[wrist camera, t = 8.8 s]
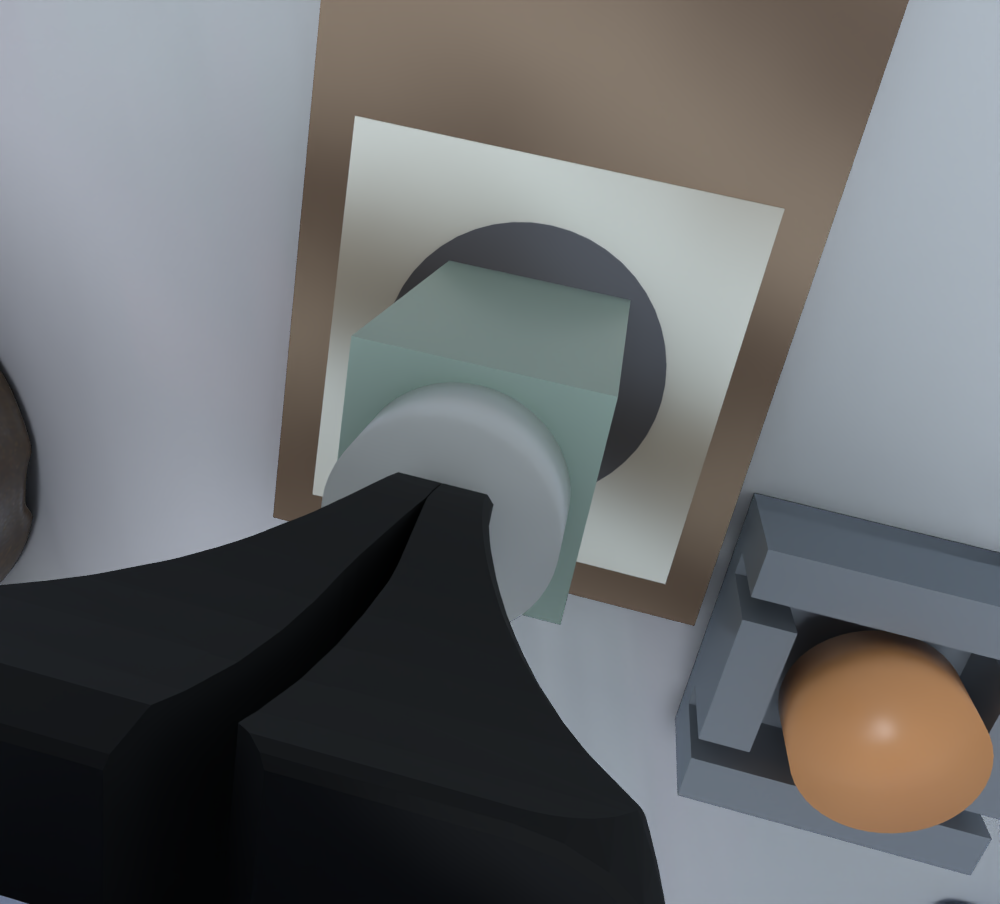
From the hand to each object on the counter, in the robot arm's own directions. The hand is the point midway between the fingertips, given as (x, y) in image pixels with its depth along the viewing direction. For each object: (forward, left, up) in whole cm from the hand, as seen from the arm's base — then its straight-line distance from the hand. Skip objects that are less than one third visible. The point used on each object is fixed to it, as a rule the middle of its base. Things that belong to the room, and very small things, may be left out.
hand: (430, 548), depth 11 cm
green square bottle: (0, 0, -8) cm, 8 cm away
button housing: (-6, -10, -9) cm, 14 cm away
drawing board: (+2, 0, -9) cm, 10 cm away
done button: (-6, -10, -7) cm, 13 cm away
